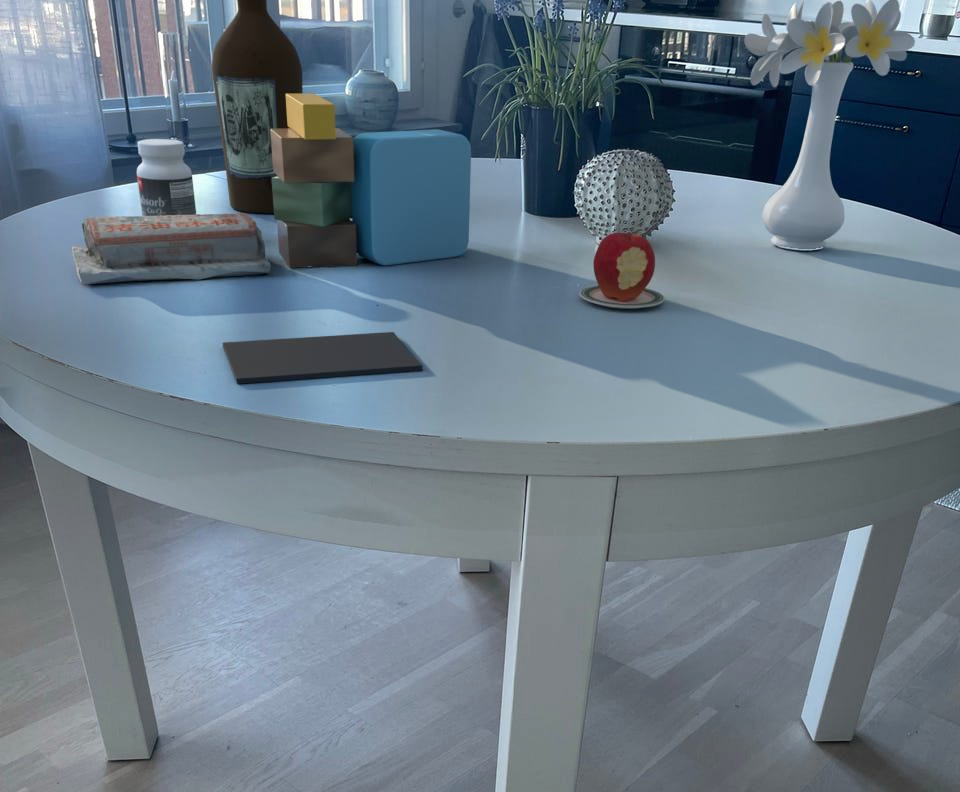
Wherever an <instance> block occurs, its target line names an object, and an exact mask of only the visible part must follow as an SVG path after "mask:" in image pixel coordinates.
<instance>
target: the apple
mask: <svg viewBox="0 0 960 792" xmlns="http://www.w3.org/2000/svg"><path fill="white" fill-rule="evenodd" d="M642 231H643V229H642V228H638V229H636V230H635V231H633V232H631V233H628V232H627V233H626V232H613V233H610V234H607V235H606V236H605V237H603V238H602V240H601V241H600V243H599V244H598V247H597V249H596V251H595V254H594V257H593V263H592V265H593V273H594V277H595V281H596V283H597V284H596V285H590V286H587V287H584V288H582V289H581V290H580V291H579V296H580V298H582V299H583V300H585V301H587V302H589V303H592V304H596V305H598V306H602V307H606V308H611V309H619V310H635V309H643V308H650V307H656V306H659V305H661V304H662V303H663V302H664V301H665V296H664V295H663V294H662V293H661V292H659V291H657V290H654V289H651V288H647V287H648V286H649V283H650V282H651V281H652V278H653V276H654V273H655V268H656V256H655V252H654V249H653V247H652V245H651V244H650V242H649V241H648V239H646V238H645V237H644V236H642V235H639V234H636V233H637V232H642Z"/></svg>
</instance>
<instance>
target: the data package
mask: <svg viewBox="0 0 960 792" xmlns="http://www.w3.org/2000/svg"><path fill="white" fill-rule="evenodd" d="M353 149H354V180H355V181H354V182H351V205H352V218H351V221H353V222H354V223H355V224H356V241H357V256H360V257H361V258H364V259H366V260H368V261H370V262H373V263H375V264H378V265H380V266H384V267H385V266H395V265H402V264H410V263H411V264H413V263H418V262H419V263H420V262H427V261H433V260H434V261H436V260H442V259H451V258H457V257H460V256H462V255H463V254H464V253H465V252H466V250H467V249H468V246H469V241H470V211H471V209H470V207H471V206H470V205H471V173H472V172H471V171H472V170H471V169H472V147H471V144H470V140H468V138H467V137H466V136H464V135H463V134H460V133H455V132H452V131H448V130H447V131H446V130H442V129H438V128H437V129H435V128H433V129H418V130H414V129H413V130H397V131H396V130H395V131H377V132H375V131H374V132H362V133H359V134H357V135H356V136H354V137H353Z"/></svg>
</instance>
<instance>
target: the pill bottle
mask: <svg viewBox="0 0 960 792" xmlns="http://www.w3.org/2000/svg"><path fill="white" fill-rule="evenodd" d="M137 150H138V155H140V157H141V161H142V162H141V163H140V164H139V165H138V166H137V168H136V179H137V186H138V187H137V188H138V193H139V201H140V209H141V216H165V215H196V214H197V208H196V199H195V190H194V181H193V173H192V172H193V171H192V170H191V168H190V166H188V165H187V164H186V163H185V162H184V157H185V154H186V151H185V150H186V149H185V143H184V141H181V140H177V139H170V138H169V139H168V138H167V139H166V138H150V139H149V138H147V139H142V140H138V141H137Z"/></svg>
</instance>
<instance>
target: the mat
mask: <svg viewBox="0 0 960 792" xmlns="http://www.w3.org/2000/svg"><path fill="white" fill-rule="evenodd" d="M222 349H223V351H224V354H225V356H226V359H227V362H228V364H229V366H230V367H229V368H230V370H231V372H232V374H233V375H232V376H233V377H234V380H235V383H236V384H237V385H243V384H255V383H257V384H258V383H269V382H282V381H283V382H284V381H296V380H297V381H298V380H309V379H322V378H338V377H350V376H363V375H365V376H366V375H378V374H391V373H405V372H418V371H419V372H420V371H423V365H422V363H421V362H420V361H419V360H418V358H417V357H416V356H415V355H414V354H413V353H412V352H411V351H410V350H409V349H408V347H407V346H406V344H405V343H403V341H402V340H401V339H400V337H398V335H397V334H396V333H395V332H394V331H386V332H385V331H384V332H369V333H355V334H338V335H336V334H335V335H321V336H305V337H291V338H290V337H288V338H272V339H257V340H256V339H255V340H243V341H242V340H240V341H226V342H224V341H223V342H222Z"/></svg>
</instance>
